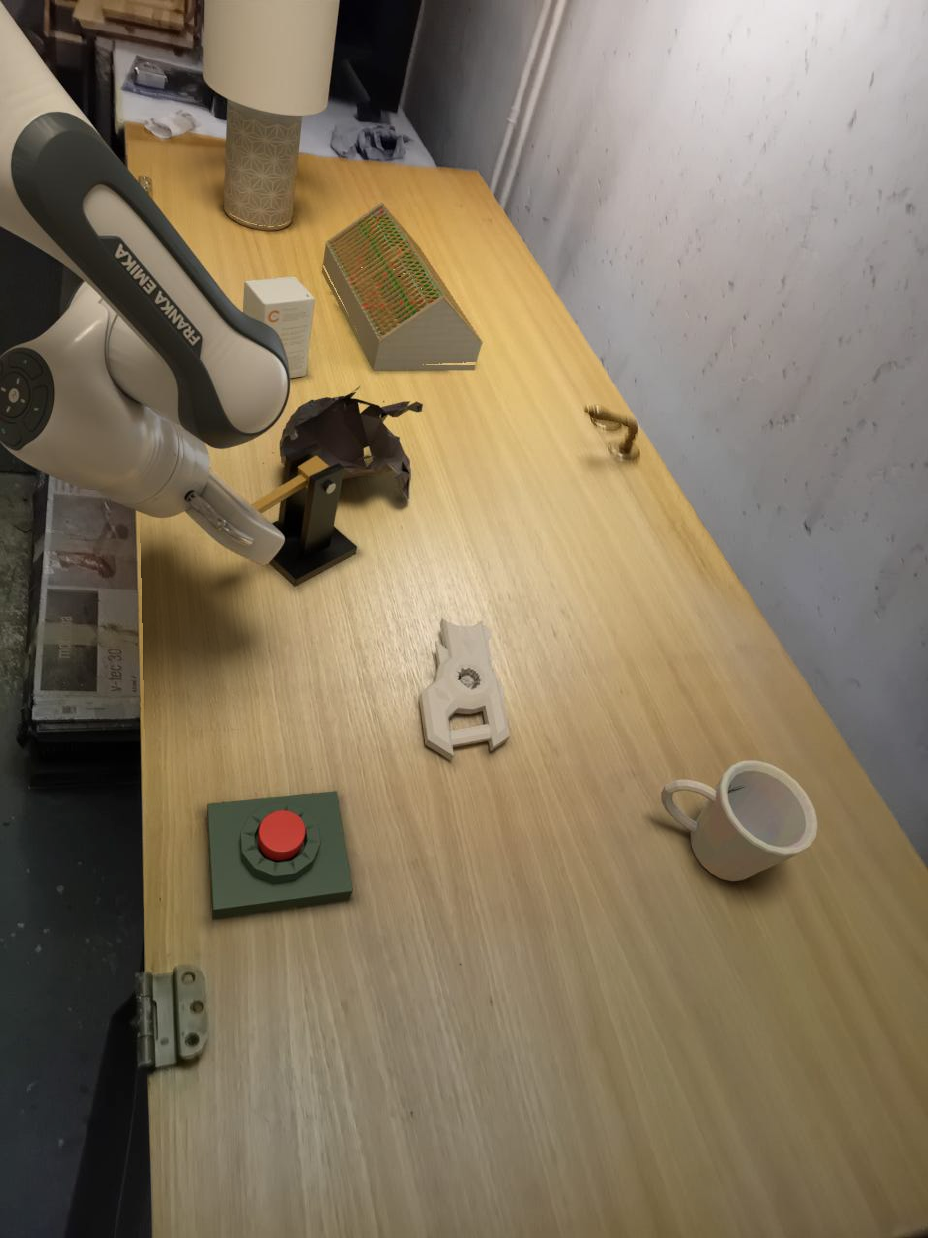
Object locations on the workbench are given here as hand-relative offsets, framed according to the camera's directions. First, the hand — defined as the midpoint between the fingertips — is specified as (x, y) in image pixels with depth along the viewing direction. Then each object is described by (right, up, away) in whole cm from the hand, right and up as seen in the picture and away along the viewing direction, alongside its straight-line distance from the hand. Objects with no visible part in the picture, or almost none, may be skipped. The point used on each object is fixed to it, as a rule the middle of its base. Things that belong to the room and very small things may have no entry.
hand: (240, 507), depth 86 cm
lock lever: (+2, +1, +6) cm, 6 cm away
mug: (+49, -36, +3) cm, 61 cm away
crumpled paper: (+6, +7, +26) cm, 27 cm away
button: (+7, -31, -13) cm, 35 cm away
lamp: (-16, +65, +69) cm, 96 cm away
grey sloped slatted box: (+12, +41, +57) cm, 71 cm away
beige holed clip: (+23, -20, +7) cm, 31 cm away
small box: (-6, +26, +38) cm, 47 cm away
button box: (+6, -34, -11) cm, 36 cm away
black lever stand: (+3, -3, +16) cm, 16 cm away
